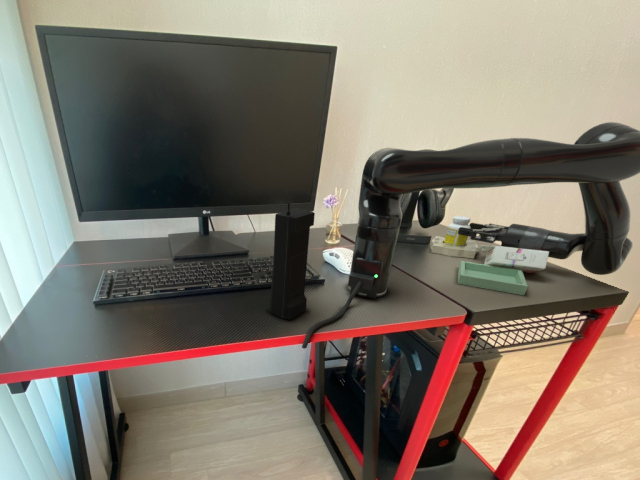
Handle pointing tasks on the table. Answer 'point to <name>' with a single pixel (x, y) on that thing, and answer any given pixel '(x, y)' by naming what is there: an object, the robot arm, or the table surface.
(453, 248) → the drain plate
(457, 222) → the pill bottle
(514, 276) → the basin tray
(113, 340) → the table surface
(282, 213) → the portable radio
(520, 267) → the ink cartridge box
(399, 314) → the table surface
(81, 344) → the table surface
